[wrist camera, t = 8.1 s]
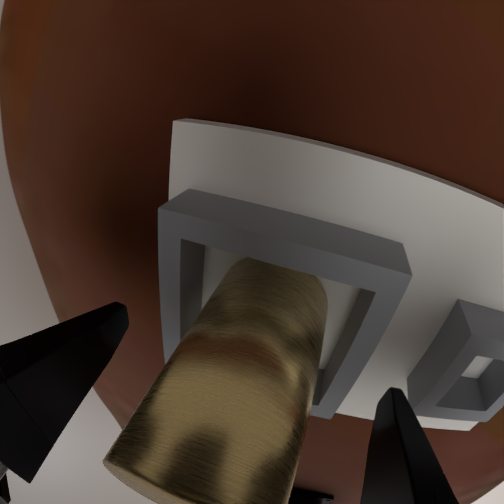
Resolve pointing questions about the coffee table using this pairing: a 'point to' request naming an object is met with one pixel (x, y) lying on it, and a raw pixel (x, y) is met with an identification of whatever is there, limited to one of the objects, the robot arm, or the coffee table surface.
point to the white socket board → (346, 264)
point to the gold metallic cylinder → (231, 395)
